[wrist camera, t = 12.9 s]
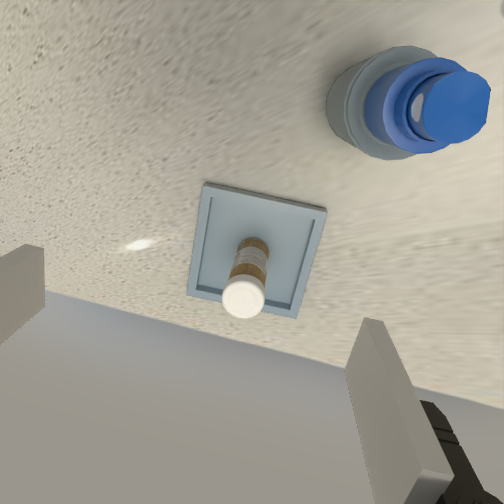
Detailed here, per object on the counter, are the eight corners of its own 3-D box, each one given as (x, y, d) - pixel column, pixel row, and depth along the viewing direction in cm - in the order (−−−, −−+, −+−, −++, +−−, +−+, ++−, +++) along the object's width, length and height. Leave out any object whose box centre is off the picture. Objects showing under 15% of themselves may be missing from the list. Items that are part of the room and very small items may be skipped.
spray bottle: (320, 140, 45) (360, 180, 22) (332, 59, 42) (394, 6, 19) (393, 147, 45) (512, 195, 22) (411, 66, 42) (575, 19, 18)
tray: (206, 182, 48) (202, 185, 46) (325, 208, 48) (327, 212, 46) (189, 288, 54) (186, 295, 52) (295, 310, 54) (296, 318, 52)
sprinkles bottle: (255, 273, 52) (245, 327, 40) (230, 253, 51) (212, 302, 39) (276, 250, 50) (273, 300, 38) (251, 229, 49) (239, 273, 37)
